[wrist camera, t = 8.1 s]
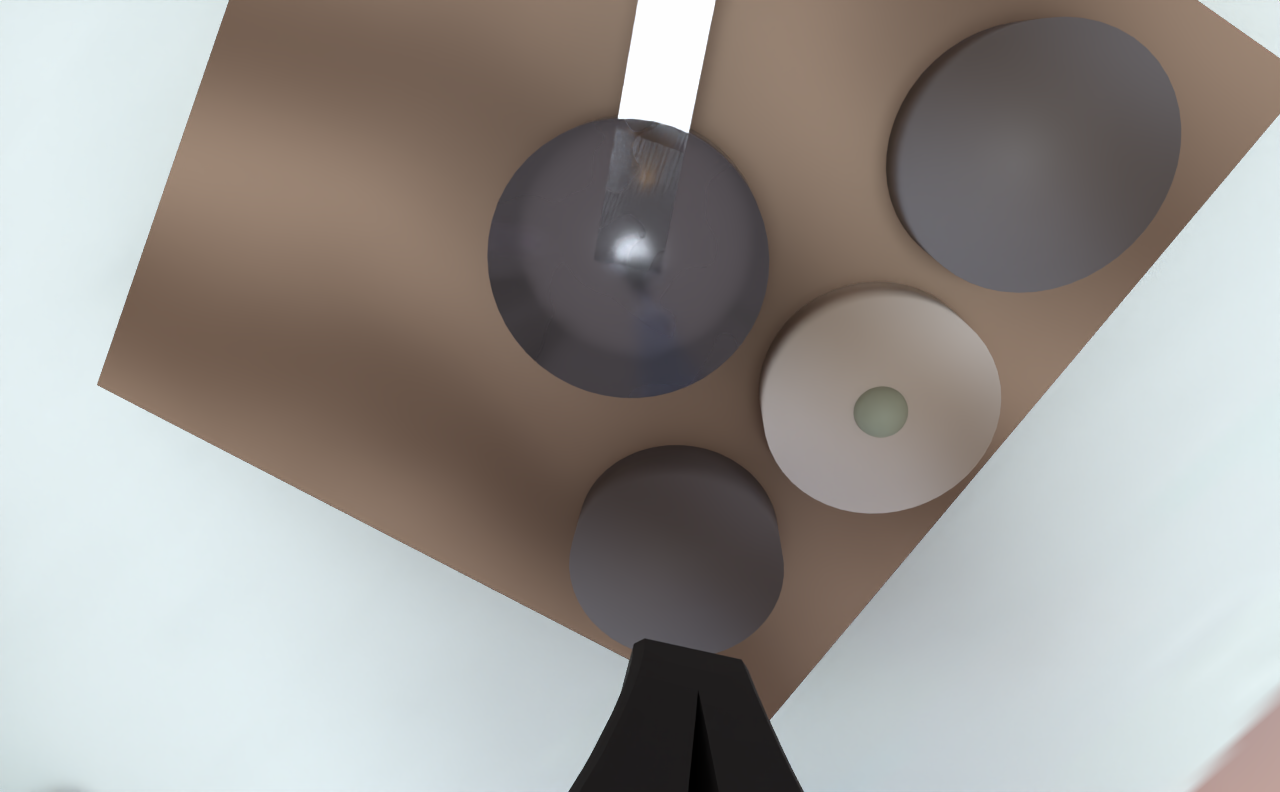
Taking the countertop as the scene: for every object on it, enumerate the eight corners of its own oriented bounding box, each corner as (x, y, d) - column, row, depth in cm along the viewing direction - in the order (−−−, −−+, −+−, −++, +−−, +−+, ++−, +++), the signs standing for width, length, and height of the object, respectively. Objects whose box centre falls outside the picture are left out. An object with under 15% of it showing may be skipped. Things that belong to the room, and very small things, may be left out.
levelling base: (758, 686, 22) (767, 784, 19) (139, 362, 20) (39, 415, 17) (1255, 77, 16) (1383, 80, 13) (446, -487, 14) (374, -641, 11)
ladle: (731, 397, 17) (739, 491, 13) (487, 348, 17) (427, 429, 13) (879, -195, 13) (949, -297, 9) (565, -260, 13) (511, -388, 9)
